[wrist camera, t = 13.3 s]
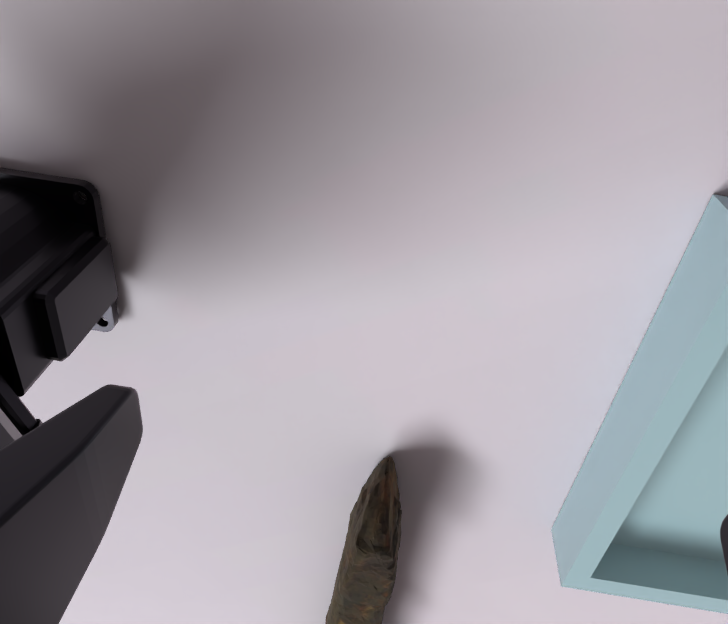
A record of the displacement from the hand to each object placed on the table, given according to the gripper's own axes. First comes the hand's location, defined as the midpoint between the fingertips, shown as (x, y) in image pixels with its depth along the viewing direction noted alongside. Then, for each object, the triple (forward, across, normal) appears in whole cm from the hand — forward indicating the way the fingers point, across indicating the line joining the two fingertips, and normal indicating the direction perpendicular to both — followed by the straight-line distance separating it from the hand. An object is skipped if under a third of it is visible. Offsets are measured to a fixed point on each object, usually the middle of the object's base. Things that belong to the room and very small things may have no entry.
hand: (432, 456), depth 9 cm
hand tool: (+14, 0, +24) cm, 27 cm away
